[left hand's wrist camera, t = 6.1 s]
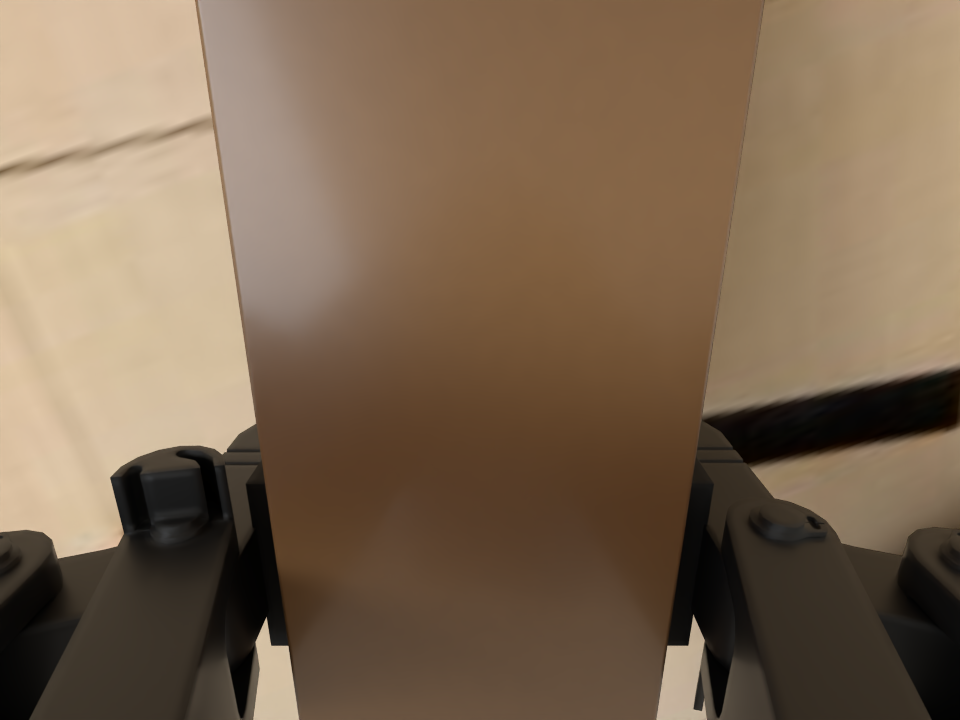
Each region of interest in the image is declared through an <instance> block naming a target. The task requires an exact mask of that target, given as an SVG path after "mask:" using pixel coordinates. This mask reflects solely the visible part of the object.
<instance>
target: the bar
mask: <svg viewBox="0 0 960 720" xmlns="http://www.w3.org/2000/svg"><path fill="white" fill-rule="evenodd" d="M764 1H765V0H195V2H196V9H197V16H198V23H199V30H200V37H201V44H202V51H203V58H204V65H205V72H206V79H207V85H208V92H209V99H210V106H211V113H212V120H213V127H214V134H215V141H216V148H217V155H218V161H219V168H220V175H221V182H222V189H223V196H224V203H225V210H226V217H227V224H228V231H229V237H230V244H231V251H232V258H233V265H234V272H235V279H236V286H237V293H238V300H239V307H240V314H241V320H242V327H243V334H244V341H245V348H246V355H247V362H248V369H249V376H250V383H251V390H252V396H253V403H254V410H255V417H256V424H257V431H258V438H259V445H260V452H261V459H262V466H263V472H264V479H265V486H266V493H267V500H268V507H269V514H270V521H271V528H272V535H273V542H274V549H275V555H276V562H277V569H278V576H279V583H280V590H281V597H282V604H283V611H284V618H285V625H286V631H287V638H288V645H289V652H290V659H291V666H292V673H293V680H294V687H295V694H296V701H297V708H298V714H299V720H656V717H657V711H658V704H659V697H660V691H661V684H662V678H663V671H664V664H665V658H666V651H667V644H668V638H669V631H670V624H671V618H672V611H673V605H674V598H675V591H676V585H677V578H678V571H679V565H680V558H681V552H682V545H683V538H684V532H685V525H686V518H687V512H688V505H689V498H690V492H691V485H692V479H693V472H694V465H695V459H696V452H697V445H698V439H699V432H700V425H701V419H702V412H703V406H704V399H705V392H706V386H707V379H708V372H709V366H710V359H711V352H712V346H713V339H714V333H715V326H716V319H717V313H718V306H719V299H720V293H721V286H722V279H723V273H724V266H725V260H726V253H727V246H728V240H729V233H730V226H731V220H732V213H733V206H734V200H735V193H736V187H737V180H738V173H739V167H740V160H741V153H742V147H743V140H744V133H745V127H746V120H747V114H748V107H749V100H750V94H751V87H752V80H753V74H754V67H755V60H756V54H757V47H758V41H759V34H760V27H761V21H762V14H763V7H764Z"/></svg>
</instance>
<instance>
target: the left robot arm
mask: <svg viewBox="0 0 960 720" xmlns="http://www.w3.org/2000/svg"><path fill="white" fill-rule="evenodd" d="M110 479H111V483H112V487H113V491H114V495H115V499H116V503H117V507H118V510H119V514H120V518H121V522H122V526H123V530H124V535H123V537H122V539H121V541H120V543H119V545H118V546H117V547H113V548H109V549H105V550H100V551H95V552H90V553H85V554H80V555H75V556H70V557H64V558H59V559H58V558H57V555H56V552H55V548H54V545H53V542H52V539H50V538H49V537H48V536H47V535H45V534H44V533H43V532H36V531H29V530H21V531H12V532H1V533H0V720H253V716H254V708H255V701H256V693H257V685H258V677H259V670H260V669H259V661H258V654H257V649H256V643H255V642H256V639H257V637H258V635H259V633H260V630H261V628H262V626H263V623H264V621H265V619H266V617H267V621H268V628H269V634H270V640H271V646H289V645H288V638H287V631H286V625H285V618H284V611H283V604H282V597H281V590H280V583H279V576H278V569H277V562H276V555H275V549H274V542H273V535H272V528H271V521H270V514H269V507H268V500H267V493H266V486H265V479H264V472H263V466H262V459H261V452H260V445H259V438H258V431H257V424H255V425H253V426H252V427H250V428H248V429H247V430H245V431H244V432H242V433H240V434H239V435H238V436H237V437H236V439H235V440H234V441H233V443H232V444H231V445H230V446H229V448H228V449H227V452H225V453H224V454H223V455H222V454H220V453H219V452H218V451H216V450H215V449H212V448H207V447H203V446H178V447H173V448H167V449H162V450H158V451H155V452H152V453H149V454H146V455H143V456H140V457H138V458H136V459H134V460H132V461H130V462H129V463H127V464H125V465H123V466H122V467H120V468H119V469H118V470H117V471H116V472H115V473H114V474H113V475H112V476H111V477H110ZM693 614H694V617H695V619H696V621H697V623H698V626H699V628H700V630H701V632H702V635H703V637H704V639H705V643H704V649H703V654H702V660H701V666H700V672H699V678H698V683H697V689H696V695H695V702H694V709H695V710H700V711H702V707H703V702H704V699H705V707H706V715H707V720H960V530H959V529H948V528H938V527H932V528H925V529H918V530H916V531H915V532H914V533H913V534H911V535H910V536H909V537H908V540H907V543H906V547H905V550H904V553H903V556H900V555H895V554H889V553H884V552H879V551H874V550H869V549H864V548H858V547H854V546H850V545H846V544H842V543H841V542H840V540H839V538H838V536H837V534H836V532H835V531H834V530H833V529H832V527H831V526H830V525H829V524H828V523H827V521H826V520H824V519H823V518H821V517H820V516H818V515H817V514H815V513H814V512H812V511H811V510H809V509H806V508H804V507H801V506H799V505H796V504H794V503H792V502H788V501H784V500H779V499H774V498H773V496H772V495H771V494H770V493H769V492H768V490H767V489H766V488H765V487H764V485H763V484H762V483H761V482H760V480H759V479H758V478H757V477H756V475H755V474H754V473H753V472H752V470H751V469H750V468H749V467H748V465H747V464H746V463H743V459H742V458H741V457H740V455H739V454H738V453H737V452H736V450H733V447H732V445H731V444H730V443H729V442H728V440H727V439H726V438H725V437H724V435H723V434H722V433H721V432H720V431H718V430H717V429H715V428H713V427H712V426H710V425H708V424H707V423H705V422H703V421H702V420H701V425H700V432H699V439H698V445H697V452H696V459H695V465H694V472H693V479H692V485H691V492H690V498H689V505H688V512H687V518H686V525H685V532H684V538H683V545H682V552H681V558H680V565H679V571H678V578H677V585H676V591H675V598H674V605H673V611H672V618H671V624H670V631H669V638H668V644H667V646H688V644H689V638H690V632H691V625H692V619H693Z"/></svg>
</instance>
